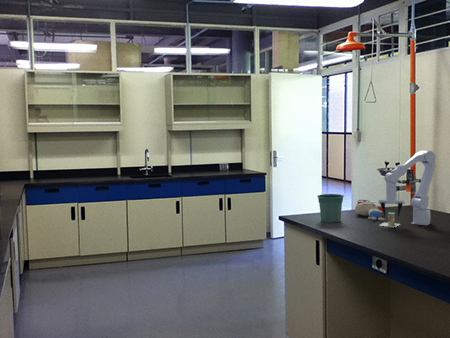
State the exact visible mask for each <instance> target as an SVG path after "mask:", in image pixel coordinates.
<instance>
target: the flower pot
mask: <svg viewBox="0 0 450 338" xmlns="http://www.w3.org/2000/svg"><path fill="white" fill-rule="evenodd" d="M344 197H345V196H344V194H340V193H339V194H338V193H322V194H318V195H317V200H318V203H319V213H320V221H321V222H324V223H328V224H329V223H330V224H333V223H337V222H338V223H339V222H341V220H342V218H341V217H342V206H343V201H344Z"/></svg>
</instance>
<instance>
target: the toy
mask: <svg viewBox="0 0 450 338" xmlns="http://www.w3.org/2000/svg"><path fill="white" fill-rule="evenodd" d="M356 201H357V203H356V204H355V208H354V209H355V212H356V213H357V214H359V215H360V216H363V217H367V219H369V220H378V221H385V220H386V219H385V218H383V217H382V216H383V215H384V212H383V209H382V207H381V205H376V203H377V202H376V201H375V200H368V199H358V200H356Z"/></svg>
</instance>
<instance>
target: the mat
mask: <svg viewBox="0 0 450 338" xmlns="http://www.w3.org/2000/svg"><path fill="white" fill-rule="evenodd" d="M378 226H379V227H383V226H384V227H385V228H394V227H395V228H397V226H398V227H399V226H401V223H396V222H395V224H394V226H388V222H382V223H380V224H379V225H378Z"/></svg>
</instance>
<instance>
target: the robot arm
mask: <svg viewBox="0 0 450 338" xmlns="http://www.w3.org/2000/svg"><path fill="white" fill-rule="evenodd" d="M436 157H437V156H436V154H435V153H434V152H433V151H432V150H422V149H419V150H418V151H417V152H415V153H414V155H413V156H411V157H410V158H409V159H408V160H407V161H406V162H405V163H404V164H398V165H396V167H395V168H394V169H392V170H391V171H390V172H387V173H386V174H385V176H384V178H383V179H384V181H385V187H386V189H385V191H386V196H385V197H386V198H385V199H378V204H380V206H381V207H382V209H383V212H384V213H383V216H384V217H385V216H386V204H390V205H392V204H393V205H396V204H397V217H400V213H401V209H402V208H403V205H405V200H404V199H401V200H400V199H397V197H398V196H397V182H399V178H401V177H403V176H404V175H405V174H406V173H407V172H408V169H410V168H411V167H413V166H414V165H416V164H417V163H422V164H423V166H424V170H423V173H422V177H421V180H420V183H419V186H418V189H417V192H416V193H414V196H413V197H412V198H411V200H410V205H411V206H412V208H413V209H412V222H411V223H410V224H411V225H421V226H429V225H430V224H431V210H430V209H428V207H429V205H430V204H429V203H430V202H429V195H428V193H429V190H430V185H431V184H432V183H431V182H432V179H433V176H434V173H435V170H436Z"/></svg>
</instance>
